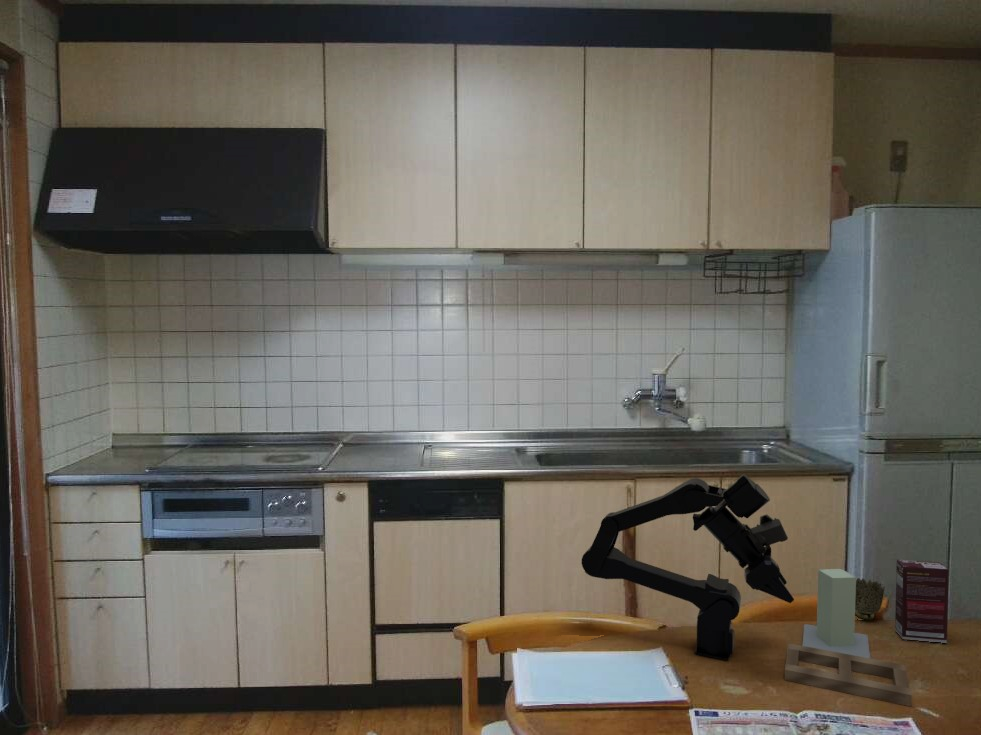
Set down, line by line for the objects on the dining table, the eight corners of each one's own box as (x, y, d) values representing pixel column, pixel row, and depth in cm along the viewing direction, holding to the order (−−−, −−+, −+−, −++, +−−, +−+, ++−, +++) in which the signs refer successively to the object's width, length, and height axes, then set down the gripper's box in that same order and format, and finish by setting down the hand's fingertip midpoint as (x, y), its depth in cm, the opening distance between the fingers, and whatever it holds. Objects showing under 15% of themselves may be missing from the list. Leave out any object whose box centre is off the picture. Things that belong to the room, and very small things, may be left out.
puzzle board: (784, 680, 127) (784, 669, 127) (788, 652, 138) (788, 643, 138) (910, 706, 118) (911, 695, 118) (904, 675, 129) (904, 664, 129)
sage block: (830, 646, 139) (832, 578, 138) (816, 635, 144) (818, 569, 143) (854, 645, 139) (856, 577, 139) (839, 634, 144) (841, 568, 143)
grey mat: (802, 651, 139) (802, 646, 139) (804, 628, 149) (804, 623, 149) (870, 664, 133) (870, 659, 133) (867, 639, 144) (867, 634, 144)
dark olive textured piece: (888, 626, 150) (889, 590, 150) (852, 623, 152) (853, 588, 152) (876, 613, 158) (877, 578, 157) (841, 610, 159) (842, 576, 159)
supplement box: (938, 634, 146) (940, 561, 146) (947, 645, 142) (950, 569, 141) (893, 630, 148) (895, 558, 148) (901, 640, 144) (903, 565, 143)
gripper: (767, 518, 126) (831, 583, 123) (756, 494, 144) (812, 551, 141) (720, 556, 128) (783, 621, 126) (715, 529, 146) (770, 585, 144)
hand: (788, 592), depth 134 cm, fingers open, 9 cm apart
